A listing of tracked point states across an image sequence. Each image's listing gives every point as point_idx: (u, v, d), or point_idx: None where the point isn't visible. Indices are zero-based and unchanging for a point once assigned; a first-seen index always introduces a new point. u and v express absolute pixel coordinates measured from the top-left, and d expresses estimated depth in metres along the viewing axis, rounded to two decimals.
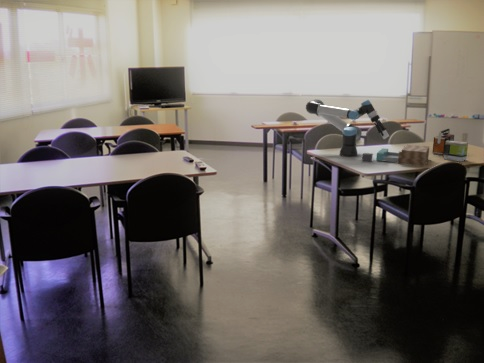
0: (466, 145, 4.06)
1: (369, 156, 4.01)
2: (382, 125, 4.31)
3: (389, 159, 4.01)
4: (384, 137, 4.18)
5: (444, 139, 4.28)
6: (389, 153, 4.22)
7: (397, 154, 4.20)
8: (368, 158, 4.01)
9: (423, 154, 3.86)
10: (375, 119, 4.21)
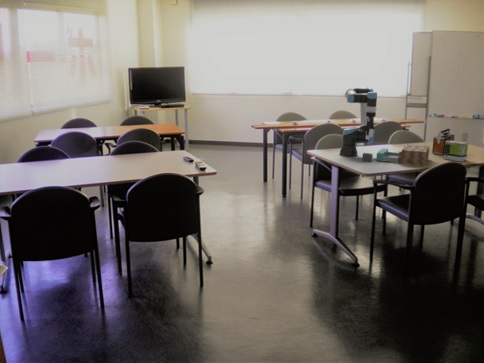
0: (466, 145, 4.06)
1: (369, 156, 4.01)
2: (372, 123, 4.04)
3: (389, 159, 4.01)
4: (367, 137, 3.94)
5: (444, 139, 4.28)
6: (389, 153, 4.22)
7: (397, 154, 4.20)
8: (368, 158, 4.01)
9: (423, 154, 3.86)
10: (370, 115, 3.92)
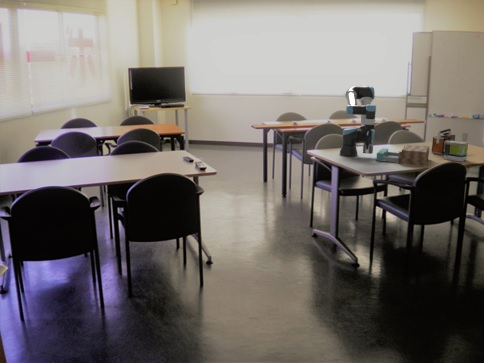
0: (466, 145, 4.06)
1: (370, 148, 3.99)
2: (371, 137, 4.04)
3: (389, 159, 4.01)
4: (367, 151, 4.00)
5: (443, 139, 4.28)
6: (389, 153, 4.22)
7: (397, 154, 4.20)
8: (369, 150, 4.00)
9: (423, 154, 3.86)
10: (369, 128, 3.95)
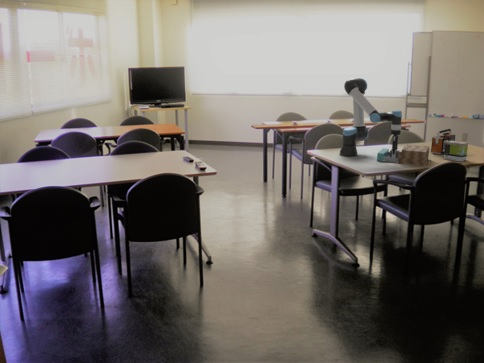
0: (466, 145, 4.06)
1: (396, 153, 4.06)
2: None
3: (390, 159, 4.01)
4: (393, 156, 4.07)
5: (442, 139, 4.28)
6: None
7: None
8: None
9: (423, 154, 3.86)
10: (395, 133, 4.02)
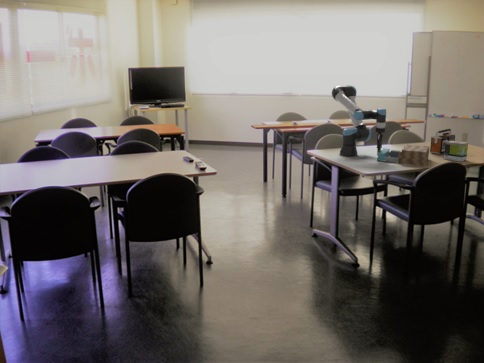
0: (466, 145, 4.06)
1: (397, 153, 4.06)
2: (381, 141, 4.15)
3: (390, 159, 4.00)
4: None
5: (441, 139, 4.29)
6: None
7: None
8: (396, 155, 4.07)
9: (423, 154, 3.86)
10: (380, 131, 4.07)
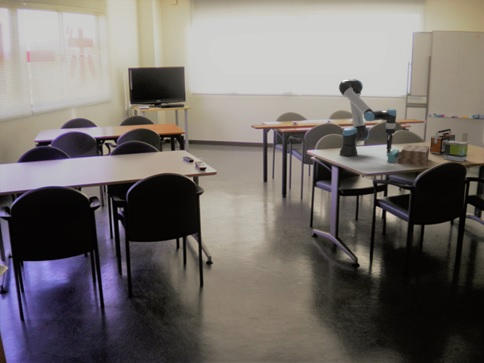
0: (466, 145, 4.06)
1: None
2: (391, 142, 4.12)
3: None
4: None
5: (441, 139, 4.29)
6: None
7: None
8: None
9: (423, 154, 3.86)
10: (390, 132, 4.04)
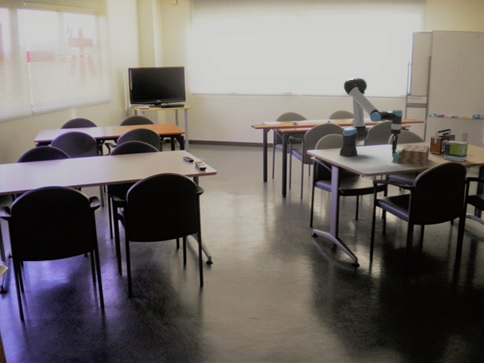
0: (466, 145, 4.06)
1: None
2: (396, 142, 4.10)
3: None
4: None
5: (440, 139, 4.29)
6: None
7: None
8: None
9: (423, 154, 3.86)
10: (395, 132, 4.02)
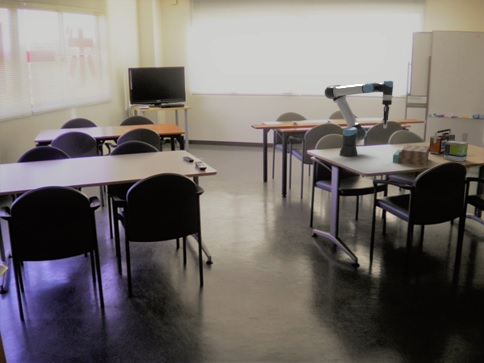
0: (466, 145, 4.06)
1: None
2: (387, 113, 4.16)
3: None
4: (384, 126, 4.15)
5: (440, 139, 4.29)
6: None
7: None
8: None
9: (423, 154, 3.86)
10: (386, 103, 4.08)
